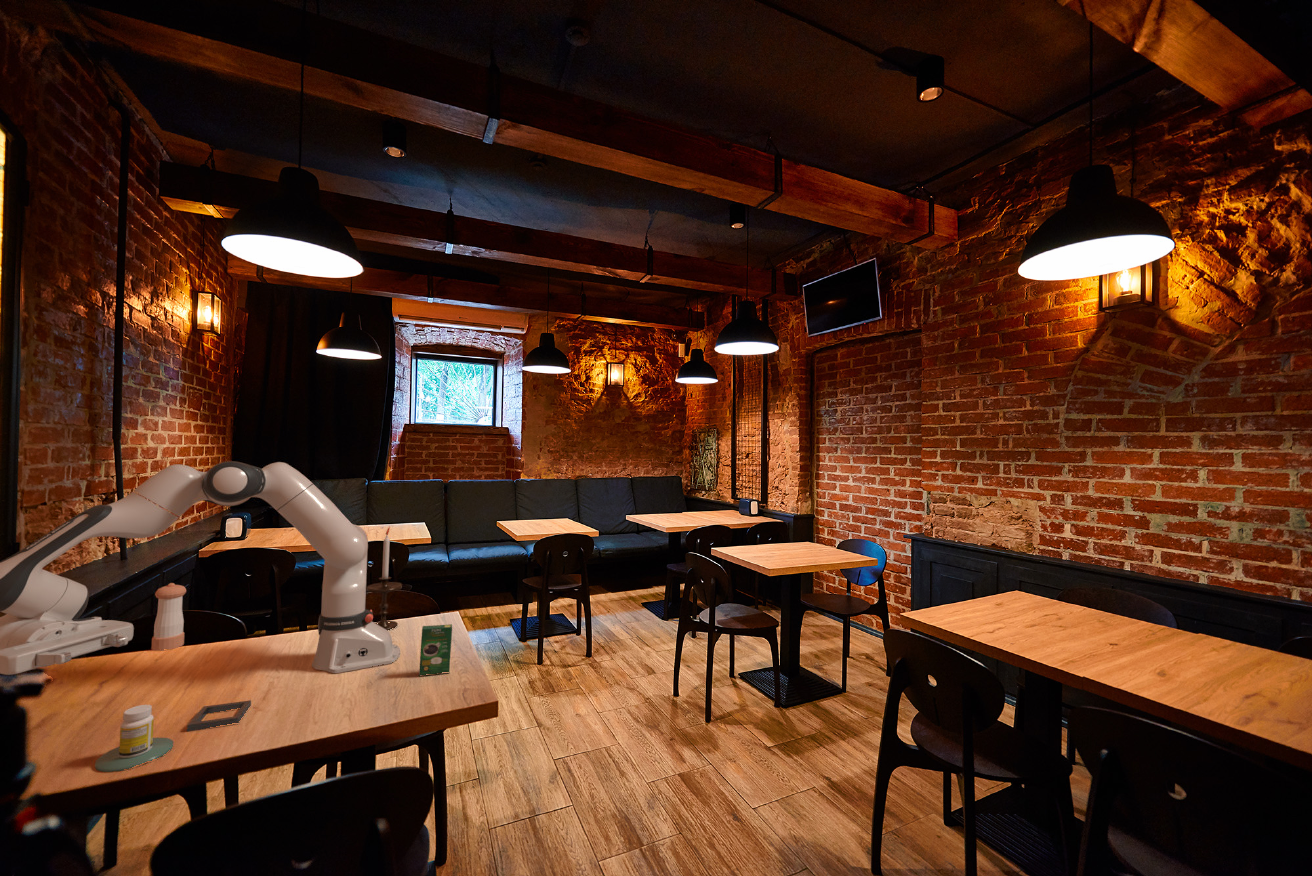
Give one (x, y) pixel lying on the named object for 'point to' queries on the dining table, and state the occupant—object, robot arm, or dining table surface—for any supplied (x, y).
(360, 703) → the dining table surface
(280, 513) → the robot arm
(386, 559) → the candlestick
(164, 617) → the pepper shaker
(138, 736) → the supplement bottle
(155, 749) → the green coaster
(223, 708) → the square metal frame
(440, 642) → the coffee box
